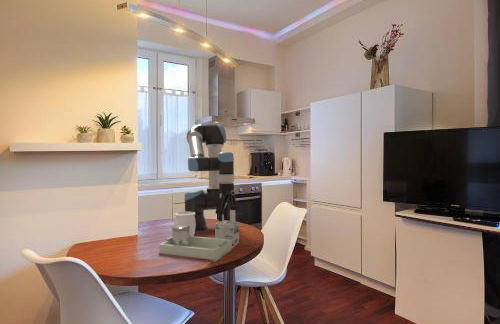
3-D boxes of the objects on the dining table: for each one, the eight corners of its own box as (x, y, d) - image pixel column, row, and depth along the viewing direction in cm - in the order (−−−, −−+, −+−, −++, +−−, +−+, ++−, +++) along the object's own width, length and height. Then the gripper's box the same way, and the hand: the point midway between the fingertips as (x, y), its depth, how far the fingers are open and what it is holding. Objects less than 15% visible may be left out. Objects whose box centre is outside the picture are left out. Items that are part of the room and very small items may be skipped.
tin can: (178, 245, 150) (178, 225, 150) (193, 247, 148) (193, 226, 147) (168, 250, 143) (168, 228, 143) (183, 252, 140) (183, 230, 140)
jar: (191, 245, 155) (190, 215, 155) (171, 244, 157) (171, 214, 157) (198, 239, 165) (198, 211, 165) (180, 238, 167) (180, 211, 167)
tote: (180, 245, 155) (180, 233, 155) (232, 250, 145) (231, 237, 145) (158, 255, 140) (158, 241, 139) (215, 262, 129) (214, 247, 129)
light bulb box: (239, 242, 158) (239, 221, 158) (234, 246, 152) (234, 224, 152) (220, 241, 162) (220, 220, 162) (214, 244, 156) (214, 223, 155)
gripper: (230, 181, 169) (230, 220, 169) (207, 184, 146) (208, 229, 146) (242, 181, 167) (243, 220, 167) (222, 184, 143) (222, 230, 143)
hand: (227, 225), depth 156 cm, fingers open, 13 cm apart
